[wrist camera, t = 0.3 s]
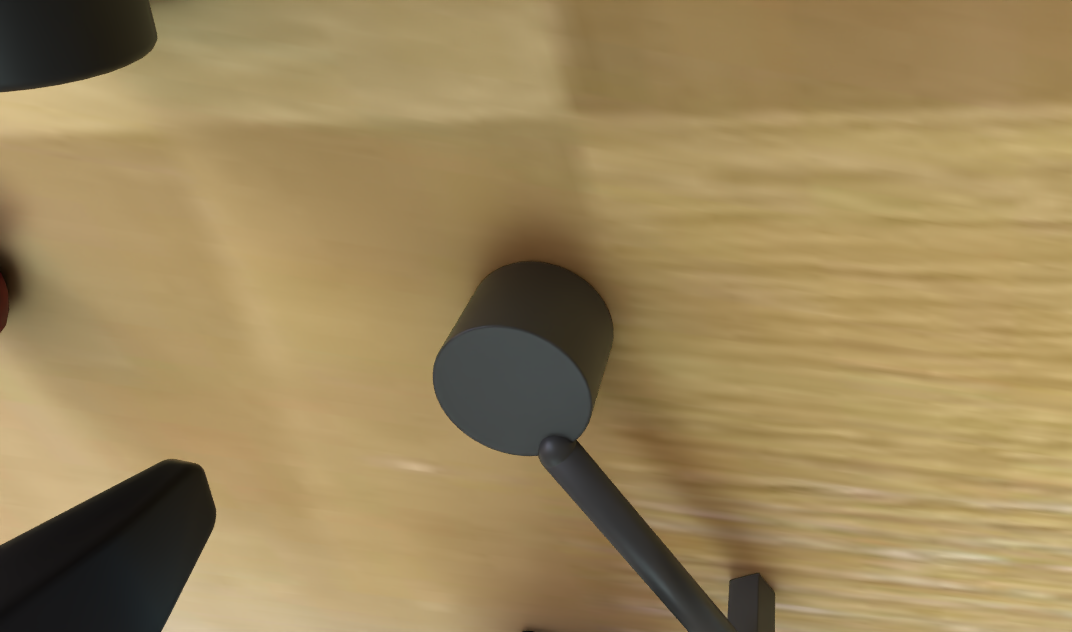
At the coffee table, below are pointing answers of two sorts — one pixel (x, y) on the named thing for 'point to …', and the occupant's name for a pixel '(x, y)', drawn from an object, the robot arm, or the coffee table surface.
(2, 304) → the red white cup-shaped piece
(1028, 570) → the coffee table surface
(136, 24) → the end cap
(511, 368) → the ladle
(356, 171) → the coffee table surface
